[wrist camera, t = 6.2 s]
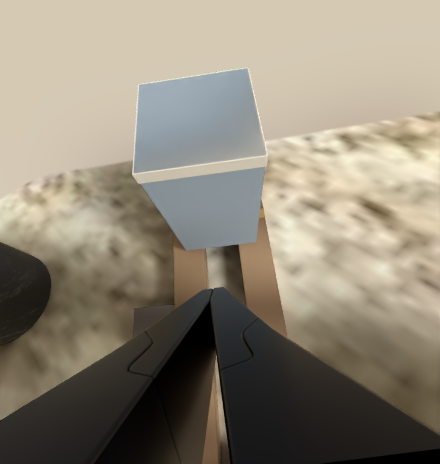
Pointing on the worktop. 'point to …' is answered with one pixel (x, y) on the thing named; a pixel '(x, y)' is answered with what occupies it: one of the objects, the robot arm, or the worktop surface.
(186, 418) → the robot arm
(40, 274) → the travel mug
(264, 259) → the beam
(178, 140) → the block
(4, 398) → the worktop surface
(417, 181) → the worktop surface
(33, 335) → the worktop surface
